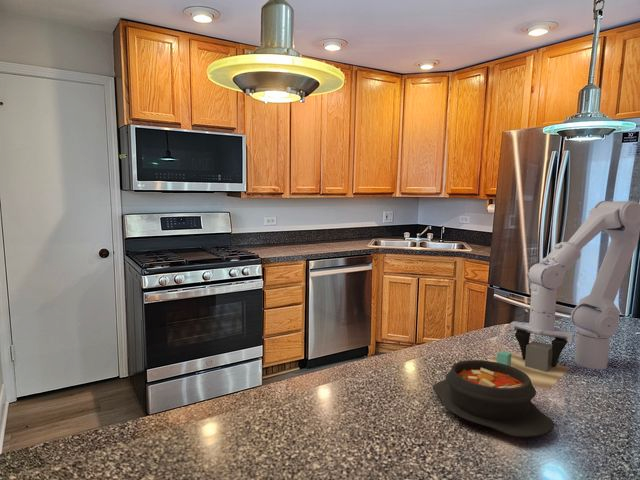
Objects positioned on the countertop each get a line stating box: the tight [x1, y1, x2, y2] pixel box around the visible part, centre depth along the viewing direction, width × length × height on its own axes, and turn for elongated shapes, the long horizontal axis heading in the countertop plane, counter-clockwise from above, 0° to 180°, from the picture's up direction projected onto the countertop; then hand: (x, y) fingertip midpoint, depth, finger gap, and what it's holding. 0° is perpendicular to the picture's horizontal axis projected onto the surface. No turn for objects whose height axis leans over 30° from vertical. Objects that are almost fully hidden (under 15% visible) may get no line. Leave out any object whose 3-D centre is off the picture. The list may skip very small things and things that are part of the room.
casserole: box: [432, 359, 555, 438], centre depth 85 cm, size 25×19×8 cm
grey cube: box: [525, 340, 552, 372], centre depth 108 cm, size 5×5×6 cm
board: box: [487, 352, 571, 390], centre depth 107 cm, size 18×17×1 cm
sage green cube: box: [496, 350, 512, 366], centre depth 106 cm, size 3×3×4 cm
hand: (539, 362), depth 108 cm, fingers open, 6 cm apart
